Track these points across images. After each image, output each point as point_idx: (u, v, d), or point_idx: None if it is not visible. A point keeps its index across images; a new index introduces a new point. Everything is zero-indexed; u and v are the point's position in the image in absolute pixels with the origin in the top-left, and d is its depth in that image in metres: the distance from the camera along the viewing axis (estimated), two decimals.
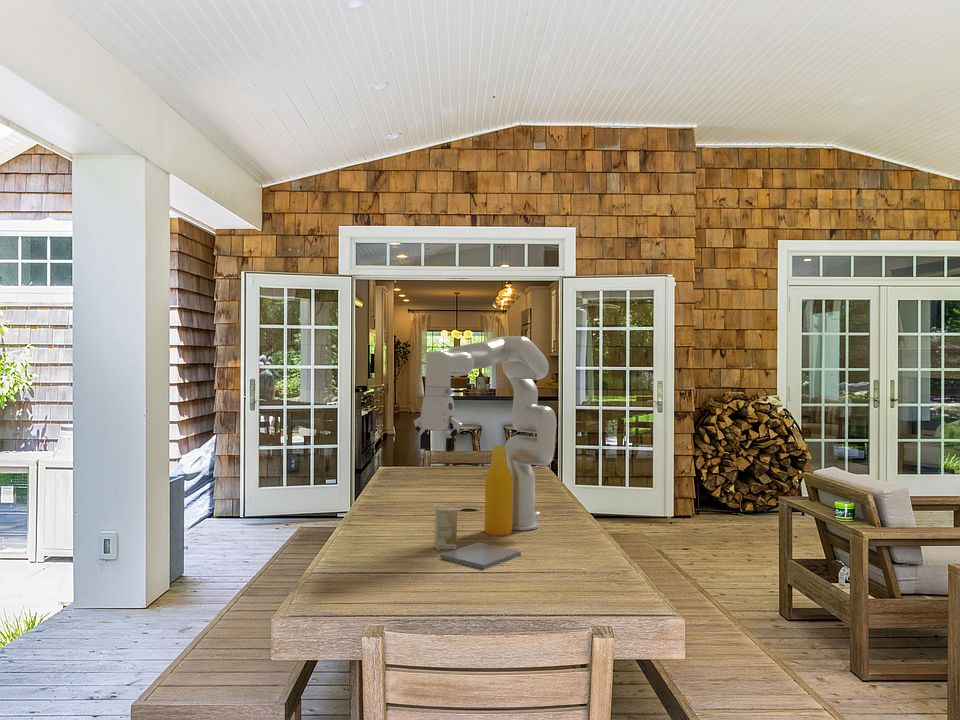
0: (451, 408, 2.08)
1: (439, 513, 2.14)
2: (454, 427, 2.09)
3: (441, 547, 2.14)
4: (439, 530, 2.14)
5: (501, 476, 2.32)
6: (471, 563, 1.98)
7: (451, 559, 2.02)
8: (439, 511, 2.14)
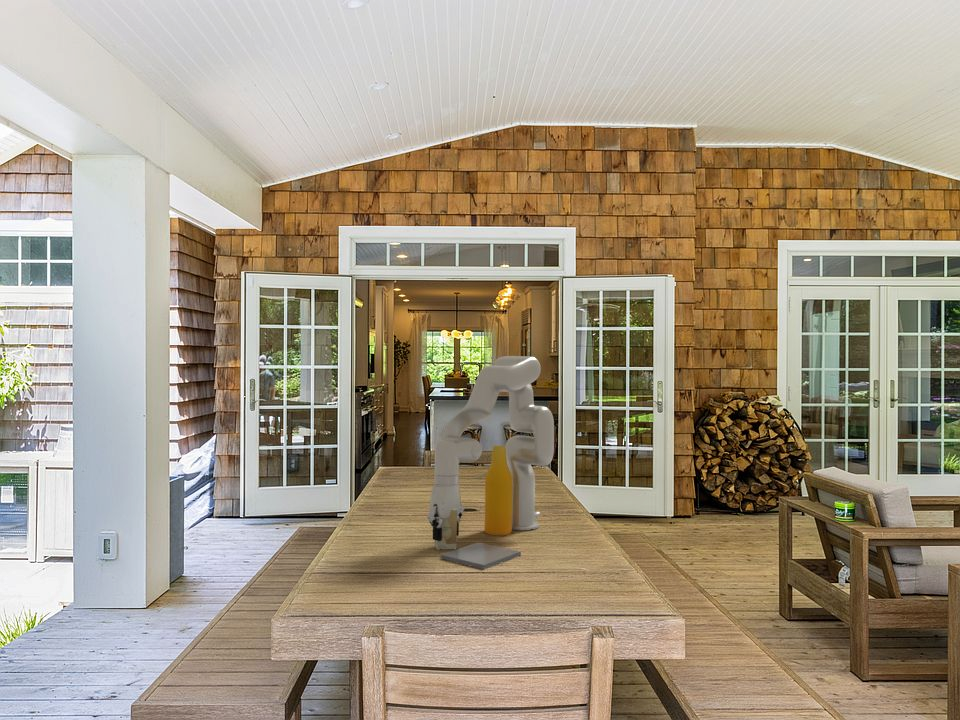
0: None
1: None
2: None
3: (441, 547, 2.14)
4: None
5: (501, 476, 2.32)
6: (471, 563, 1.98)
7: (451, 559, 2.02)
8: None
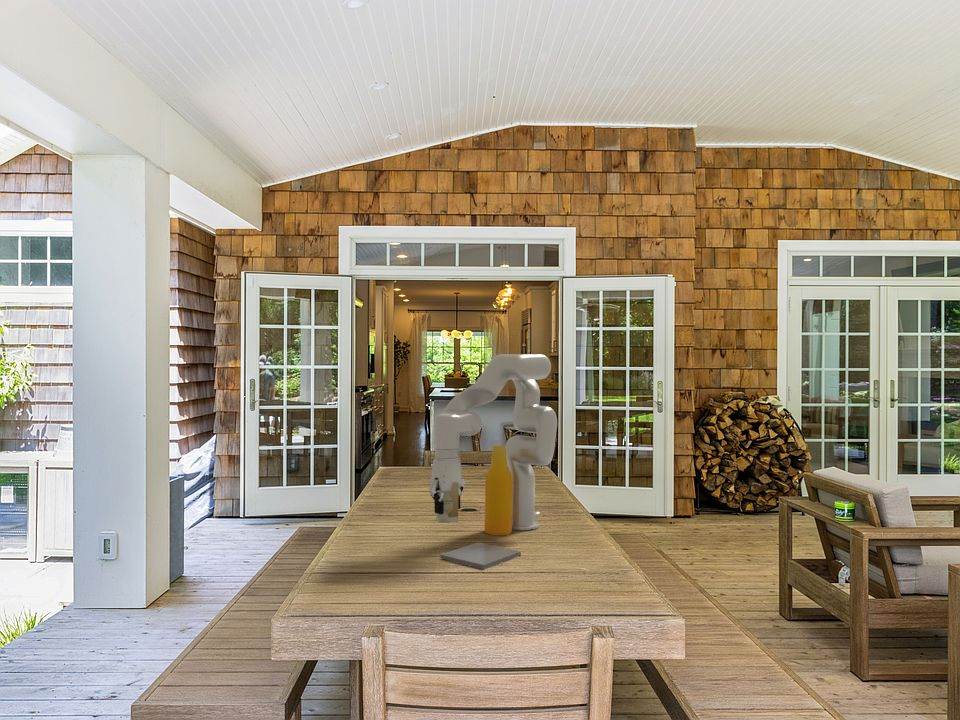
0: None
1: None
2: None
3: (443, 520, 2.15)
4: None
5: (501, 476, 2.32)
6: (471, 563, 1.98)
7: (451, 559, 2.02)
8: None
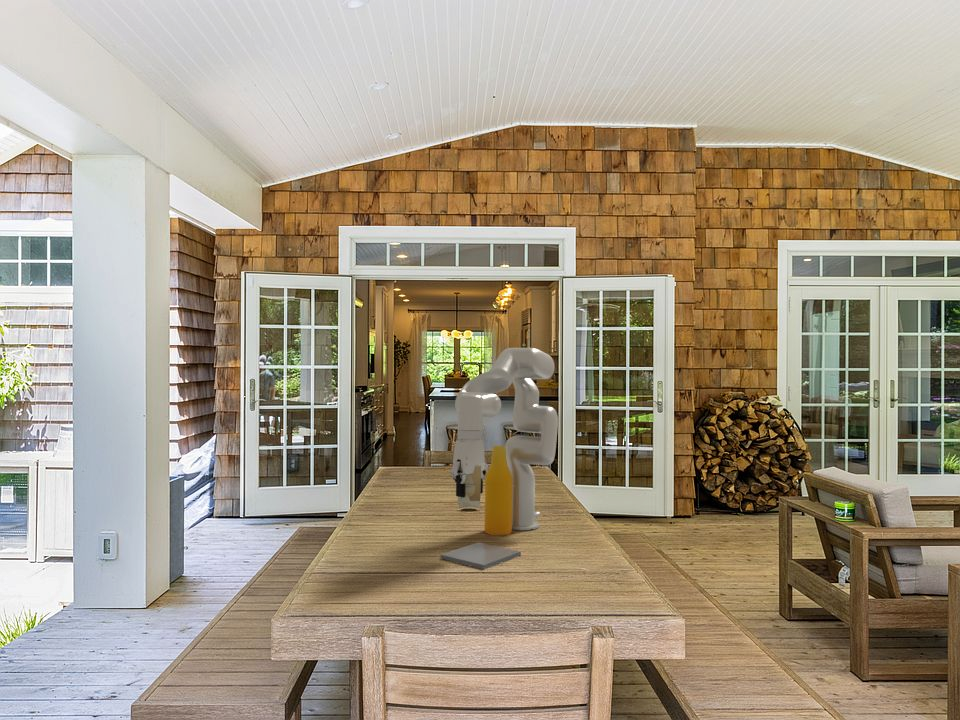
0: None
1: None
2: None
3: (464, 504, 2.08)
4: None
5: (501, 476, 2.32)
6: (471, 563, 1.98)
7: (451, 559, 2.02)
8: None
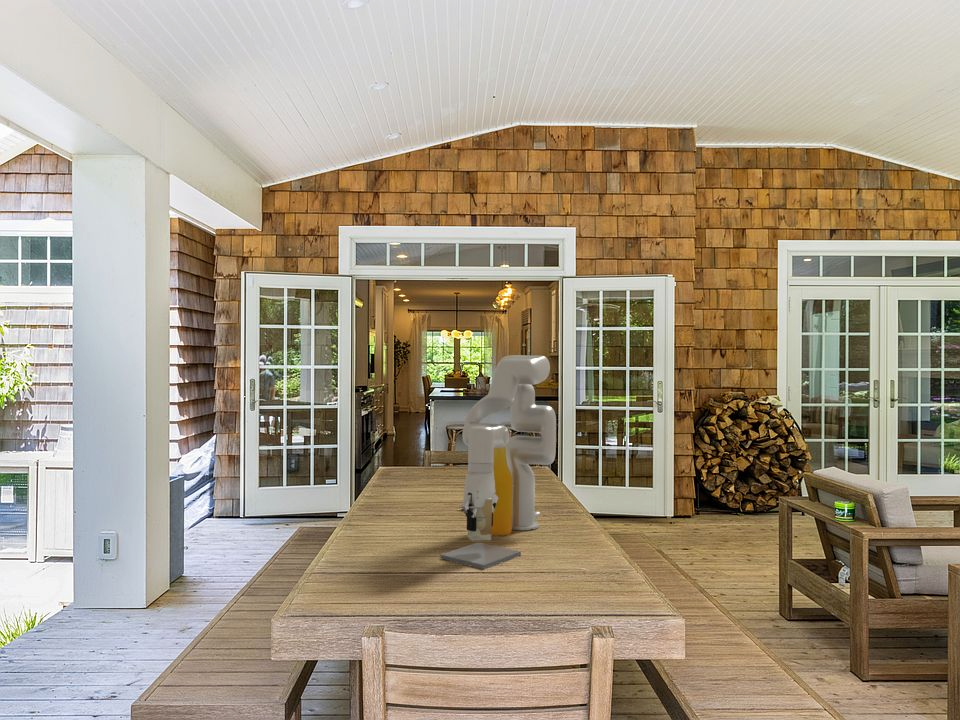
0: None
1: None
2: None
3: (475, 538, 2.05)
4: None
5: (501, 476, 2.32)
6: (471, 563, 1.98)
7: (451, 559, 2.02)
8: None
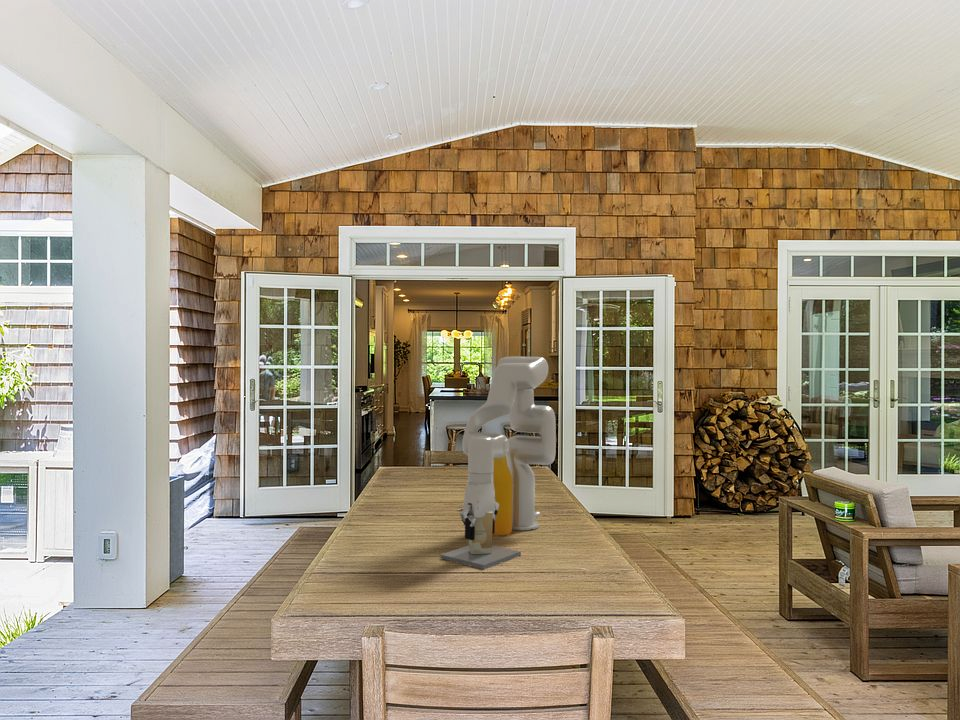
0: None
1: None
2: None
3: (476, 551, 2.05)
4: None
5: (501, 476, 2.32)
6: (471, 563, 1.98)
7: (451, 559, 2.02)
8: None
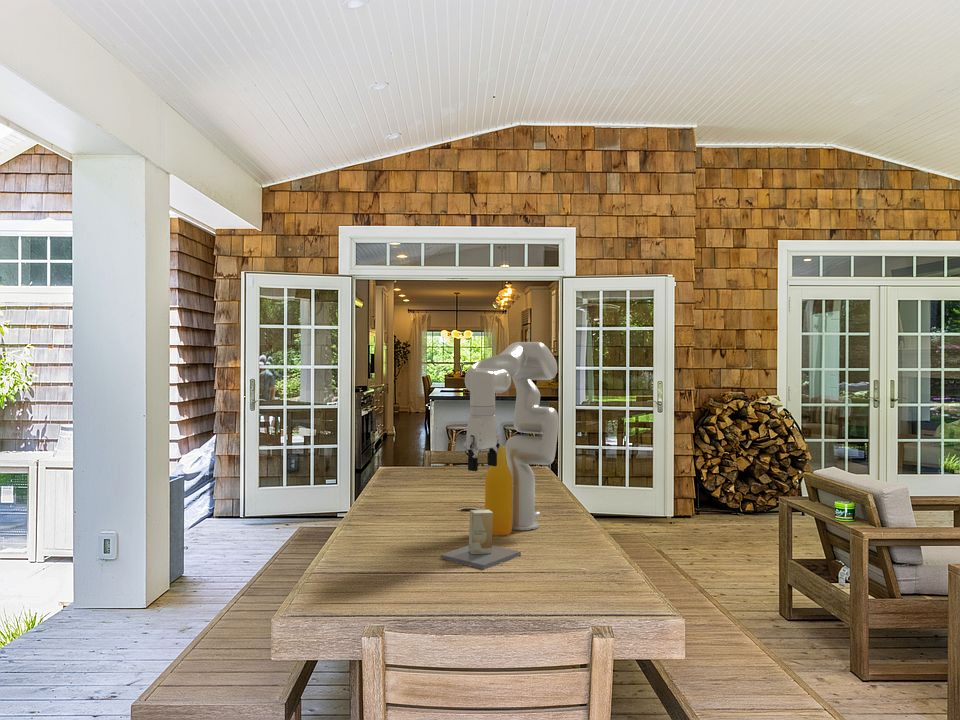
0: None
1: (474, 516, 2.05)
2: None
3: (476, 551, 2.05)
4: (474, 534, 2.05)
5: (501, 476, 2.32)
6: (471, 563, 1.98)
7: (451, 559, 2.02)
8: (474, 514, 2.05)
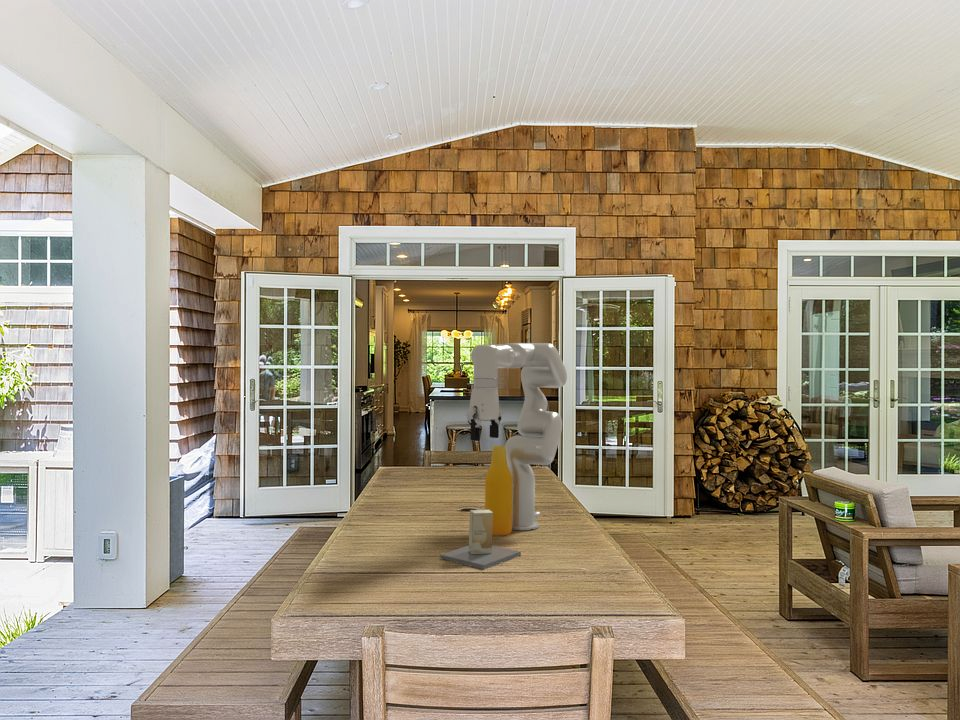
0: None
1: (474, 516, 2.05)
2: None
3: (476, 551, 2.05)
4: (474, 534, 2.05)
5: (501, 476, 2.32)
6: (471, 563, 1.98)
7: (451, 559, 2.02)
8: (474, 514, 2.05)
